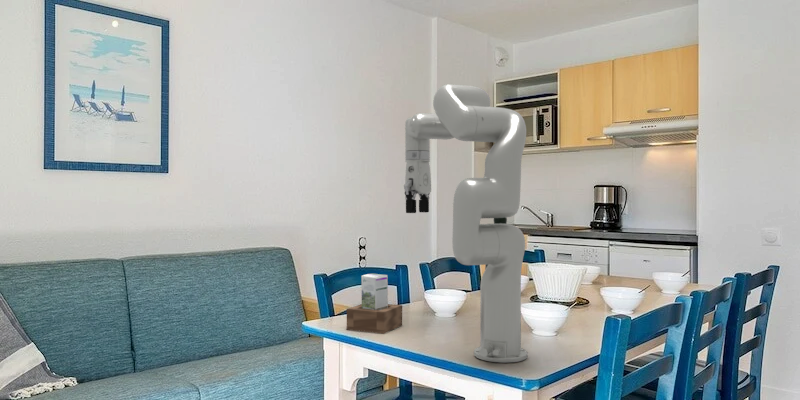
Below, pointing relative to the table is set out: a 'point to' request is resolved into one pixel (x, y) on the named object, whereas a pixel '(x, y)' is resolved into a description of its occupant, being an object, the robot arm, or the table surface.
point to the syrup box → (374, 291)
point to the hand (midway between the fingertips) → (417, 212)
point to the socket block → (374, 319)
